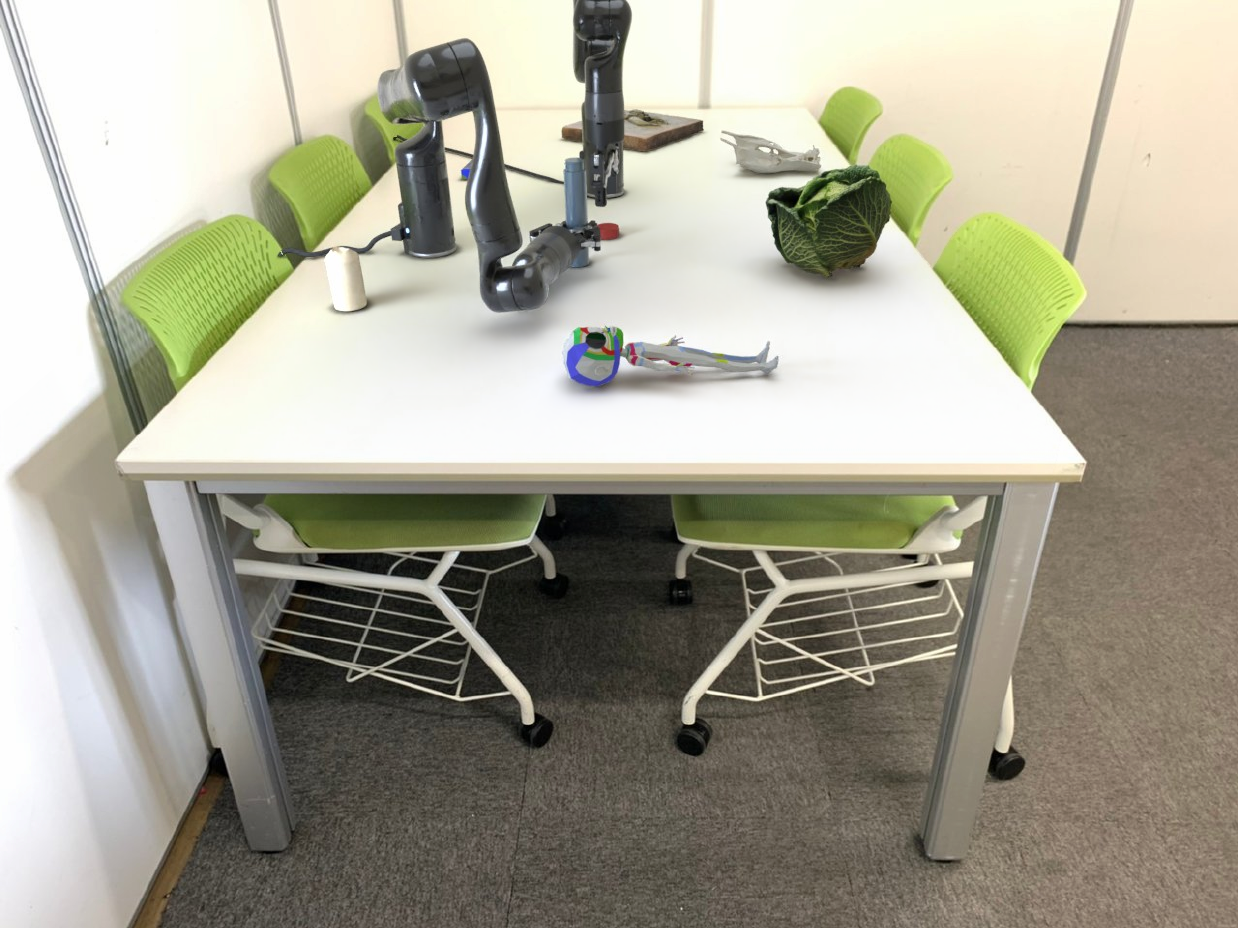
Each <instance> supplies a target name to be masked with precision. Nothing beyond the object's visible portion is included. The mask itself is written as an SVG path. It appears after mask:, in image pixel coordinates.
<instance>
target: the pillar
mask: <svg viewBox="0 0 1238 928" xmlns="http://www.w3.org/2000/svg"><path fill="white" fill-rule="evenodd" d="M471 164H472V159H471V160H469V162H468V163H467V164H466V165H464V166H463V167H462V169H461V170H460V173H461V176H460V177H461V180H468V176H469V172H470V168H471Z"/></svg>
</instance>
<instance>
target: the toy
mask: <svg viewBox="0 0 1238 928" xmlns="http://www.w3.org/2000/svg"><path fill="white" fill-rule="evenodd" d="M682 339H684V337H680V338H677V335H676V334H675V335H674V336H673V337H671V338H670V339H669V340H668V342H664V343H660V344H659V343H658V344H654V343H649V342H645V341H637V342H633V341H632V342H627V343H626V344H625V346H624V332H623V330H622V329H621V328H620V327H617V326H613V325H610V326H609V327H608V326H606V325H604V327H597V326H585V327H581V326H578V327H576V328H575V329H574V330H572V332H571V334H570V335H569V336H568V337H567V338H566V340H565V342H564V343H563V348H562V352H561V354H562V361H563V365H564V369H565V372H566V375H567V377H568V378H569V379H571V380H573V381H574V382H576V383H578V384H582V385H585V386H589V387H600V386H602V385H605V384H607V383H609V382H612V380H613V379H614V378H615V377H616V376H617V374H618V371H619V368H620V365H621V364H620V362H621V357H622V358H625V359H626V361H627V362H628V364H629V365H630V366H633V367H641V368H642V367H643V368H646V369H650V370H654V371H655V372H661V373H670V372H679V373H685V374H689V375H692V376H693V375H694V374H693V373H695V374H697V370H693V369H695V367H703V368H715V369H718V370H719V369H720V370H723V371H725V372H726V371H727V372H729V373H748V372H755V371H761V372H764V373H765V374H770V373H771V372H772V371H774V370H776V369H777V368H778V364H779V358H780V357H779V355H776V356H775V357H774V358H772V360H769V361H768V362H767V360H768V354H769V351H770V346H771V341H769V340H768V341H767V343H766V344H765V346H764V348H763V349H762V350H761V351H760V352H759V353H758V354H757V355H744V356H743V355H734V354H727V353H720V352H710V351H707V350H704V349H699V348H694V347H688V346H680V345H679V344H685V343H686V342H685V341H681V340H682ZM623 347H624V348H623ZM658 361H659V362H658ZM660 361H664V362H666V363H662V362H661V363H660ZM667 363H668V364H667Z"/></svg>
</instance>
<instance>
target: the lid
mask: <svg viewBox="0 0 1238 928" xmlns="http://www.w3.org/2000/svg"><path fill="white" fill-rule="evenodd" d="M597 227H599V228H600V238H601V240H614V239H617V238H619V237H620V226H619V224H617V223H612V222H602V223H597Z"/></svg>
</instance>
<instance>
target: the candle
mask: <svg viewBox="0 0 1238 928" xmlns="http://www.w3.org/2000/svg"><path fill="white" fill-rule="evenodd" d="M331 248H332V247H331ZM324 262H325V269H326V273H327V278H328V284H329V289H330V295H331V298H332V304H333V307H334V309H335V310H337V311H340V312H352V311H358V310H361V309H363V308H365V307H366V306H367V304H368V300H367V294H366V288H365V282H364V276H363V271H362V264H361V260H360V253H356V252H355V251H353V250H351V249H347V248H344V247H337V246H333V248H332V249H331V250H330V252H329V253H328V254H326V255H325V257H324Z"/></svg>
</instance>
